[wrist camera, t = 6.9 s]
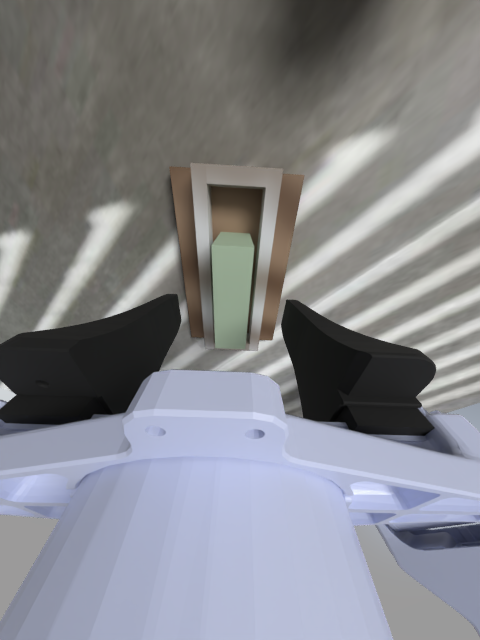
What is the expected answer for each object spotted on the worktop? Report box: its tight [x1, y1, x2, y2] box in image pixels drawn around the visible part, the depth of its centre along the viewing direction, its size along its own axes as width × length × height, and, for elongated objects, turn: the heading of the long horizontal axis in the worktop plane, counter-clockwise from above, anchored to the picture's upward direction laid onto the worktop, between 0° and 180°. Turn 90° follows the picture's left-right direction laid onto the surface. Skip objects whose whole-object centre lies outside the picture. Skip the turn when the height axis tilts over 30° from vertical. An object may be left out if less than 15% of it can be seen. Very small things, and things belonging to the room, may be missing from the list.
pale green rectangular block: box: [211, 232, 254, 349], centre depth 15 cm, size 8×2×6 cm, turn 177°
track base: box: [169, 163, 304, 351], centre depth 17 cm, size 16×10×3 cm, turn 177°
